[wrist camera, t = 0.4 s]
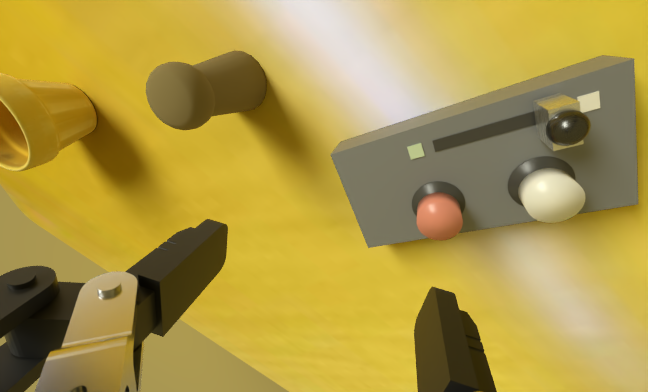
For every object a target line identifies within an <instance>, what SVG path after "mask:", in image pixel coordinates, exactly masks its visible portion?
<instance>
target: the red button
mask: <svg viewBox="0 0 648 392" xmlns="http://www.w3.org/2000/svg"><path fill="white" fill-rule="evenodd" d="M462 225H463V219H462V214H461V209H460V205H459V203H458V201H457V200H456V199H455V198H454V197H453V196H451V195H449V194H446V193H442V192H436V193H431V194H428V195H426V196H425V197H423V198H422V199H421V200H420V202H419V204H418V206H417V227H418V229H419V231H420V232H421V233H422V234H423V235H425V236H426V237H428V238H430V239H434V240H446V239H450V238H452V237H454V236H455V235H457V234H458V233H459V231H460V230H461V228H462Z"/></svg>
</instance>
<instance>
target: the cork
mask: <svg viewBox="0 0 648 392" xmlns="http://www.w3.org/2000/svg"><path fill="white" fill-rule="evenodd" d="M265 94H266V78H265V74H264V71H263V69H262V68H261V66H260V64H259V63H258V62H257V61H256V60H255V59H254V58H253V57H252V56H251V55H249V54H247V53H245V52H242V51H232V52H229V53H226V54H223V55H220V56H218V57H215V58H212V59H210V60H207V61H204V62H201V63H199V64H196V65H193V66H191V65H189V64H186V63H181V62H168V63H165V64H162V65H160V66H158V67H156V68H155V69H154V70H153V71H152V72H151V74H150V76H149V78H148V81H147V83H146V95H147V99H148V102H149V105H150V107H151V109H152V111H153V112H154V113H155V115H156V116H157V117H158V118H159V119H160V120H161V121H162V122H163V123H165V124H167V125H169V126H171V127H173V128H175V129H180V130H190V129H195V128H198V127H200V126H202V125H203V124H205V123H206V122H207V121H208V120H209V119H210V118H211V116H216V115H223V114H229V113H236V112H242V111H248V110H253V109H255V108H256V107H258V106H259V105H260V104H261V103H262V101H263V100H264V97H265Z"/></svg>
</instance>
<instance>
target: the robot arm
mask: <svg viewBox="0 0 648 392" xmlns="http://www.w3.org/2000/svg"><path fill="white" fill-rule="evenodd" d="M227 233H228V227H227V225H226V224H223V223H220V222H217V221H213V220H210V219H207V220H205V221H204V222H202V223H201V224H200V225H199V226H197V227H196V228H192V227H190V228H188V229H185V230H182V231H180V232H177V233H176V234H175V235H173V236H172V237H171V238H169V239H168V240H167V242H164V243H163V244H161V245H160V246H159V248H156V249H155V250H153V251H152V252H151V253H149V254H148V255H147V256H145V257H144V258H143V259H141V260H140V261H139V262H138V263H136V264H135V265H134V266H132V267H131V268H130V269H128V270H127V271H126V272H109V273H105V274H102V275H99V276H97V277H95V278H93V279H91V280H89V281H88V282H87V283H71V282H58V281H57V277H56V274H55V271H54V270H52V269H51V268H48V267H44V266H30V267H24V268H19V269H16V270H13V271H10V272H8V273H6V274H3V275H1V276H0V338H2V337H3V336H5V338H6V341H7V342H6V343H4V344H3V345H2V346H0V392H24V391H25V390H26V389H27V388H29V387H30V386H31V385H32V384H33V383H34V382H35V381H36V380H37V379H38V378H39V377H40V378H39V381H38V384H37V387H36V389H35V392H140V389H141V376H142V363H143V350H144V339H145V338H146V337H147V336H148V335H149V334H150V333H154V334H157V335H160V336H162V337H163V336H164V335H165V334H166V333H167V332H168V331H169V329H170V328H171V327H172V326H173V325H174V323H175V322H176V321H177V320H178V319H179V318H180V317H181V316H182V314H183V313H184V312H185V311H186V310H187V309H188V307H189V306H190V305H191V304H192V303H193V302H194V300H195V299H196V298H197V297H198V296H199V295H200V294H201V292H202V291H203V290H204V289H205V288H206V287H207V285H208V284H209V283H210V282H211V281H212V280H213V279H214V277H215V276H216V275H217V274H218V273H219V272H220V270H221V269H222V267H223V265H224V262H225V259H226V249H227ZM414 338H415V354H416V369H417V385H418V392H497V391H496V388H495V385H494V381H493V378H492V375H491V372H490V368H489V365H488V362H487V358H486V355H485V354H484V349H483V345H482V342H480V340H481V339H480V336H479V332H478V329H477V326H476V324H475V323H474V322H473V320H472V319H471V317H470V316H469V315H468V313H467V312H465V311H461V310H459V308H458V304H457V300H456V296H455V294H454V293H452V292H449V291H445V290H442V289H439V288H435V287H431V289H430V290H429V292H428V294H427V297H426V299H425V301H424V303H423V305H422V308H421V310H420V312H419V314H418V316H417V319H416V323H415V329H414Z"/></svg>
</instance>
